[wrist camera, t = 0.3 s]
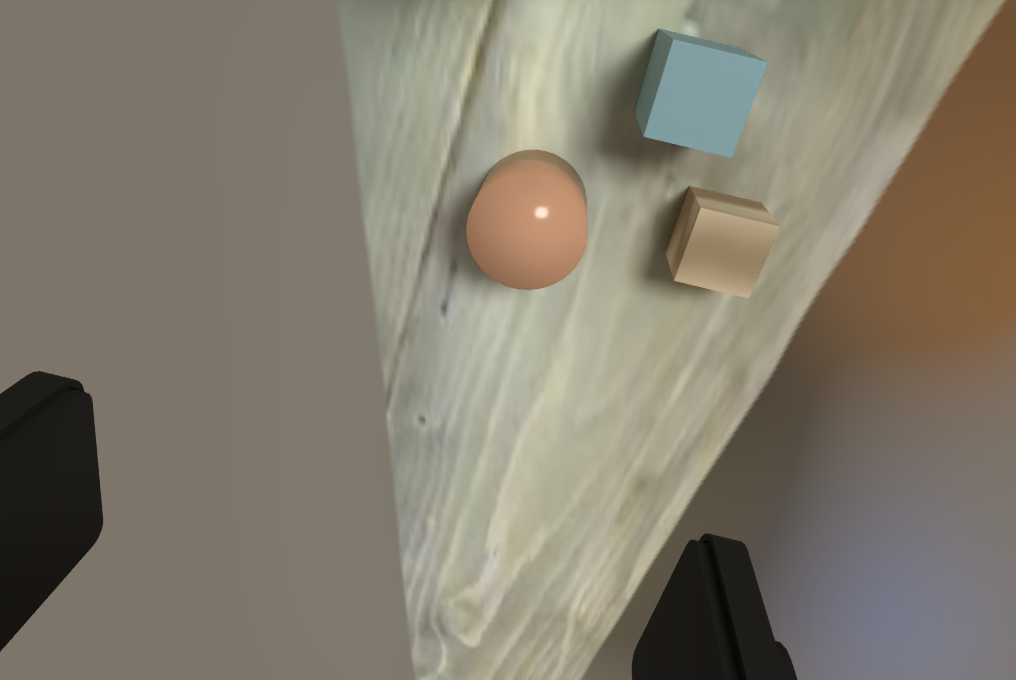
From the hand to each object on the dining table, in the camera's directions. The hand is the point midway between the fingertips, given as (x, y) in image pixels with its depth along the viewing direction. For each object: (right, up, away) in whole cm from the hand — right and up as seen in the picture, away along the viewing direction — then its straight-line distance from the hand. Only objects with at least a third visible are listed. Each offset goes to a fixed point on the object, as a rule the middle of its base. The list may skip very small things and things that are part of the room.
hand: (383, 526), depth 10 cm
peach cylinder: (+3, +11, +27) cm, 29 cm away
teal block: (+11, +16, +23) cm, 30 cm away
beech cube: (+13, +9, +27) cm, 31 cm away
